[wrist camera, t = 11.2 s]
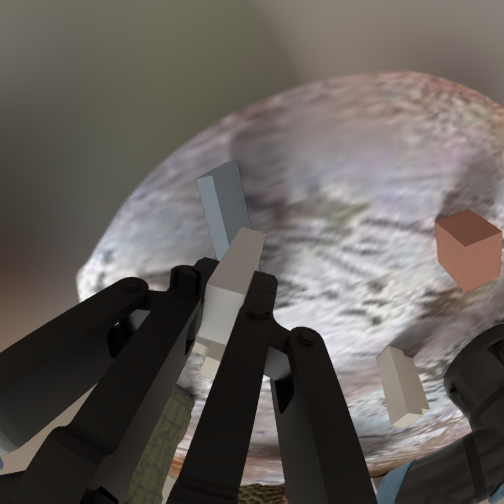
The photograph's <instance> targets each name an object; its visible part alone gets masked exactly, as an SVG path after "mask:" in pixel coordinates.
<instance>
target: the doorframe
mask: <svg viewBox="0 0 504 504" xmlns="http://www.w3.org/2000/svg"><path fill="white" fill-rule="evenodd" d="M225 348H226V345H225V344H221V343H218V342H215V341H212V340H208V339H205V338H202V337H199V331H198V333H197V335H196V339H195V345H194V347H193V349H192V351H194V352H196V353H198V354H201V355H203V356H205V357H204V359H203V362H202V365H201V367H200V370H199V373H198V374H199V375H201V376H204V377H206V378H209V379H211V380H214V378H215V376H216V373H217V370H218V367H219V365H220V362H221V359H222V356H223V353H224V351H225ZM376 361H377V364H378V368H379V372H380V377H381V381H382V385H383V389H384V394H385V398H386V403H387V408H388V412H389V417H390V423H391V426H399V427H408V426H409V425H411V424H412V423H413V422H415V421H416V420H417V419H419V418H420V417H421V416H423V415H424V414H425V413H426V412H427V411H429V410H430V408H429V405H428V402H427V399H426V396H425V393H424V390H423V387H422V384H421V381H420V378H419V375H418V372H417V369H416V367H415V364H414V361H413V359H412V358H410V357H407V356H404V354H403V351H402V350H400V349H397V348H394V347H392V346H389V345H388V346H387V347H386V349H385V350H384V351H383V352H382V353H381V354H380V355H379V356H378V357H377V358H376Z"/></svg>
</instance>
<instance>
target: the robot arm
mask: <svg viewBox="0 0 504 504" xmlns="http://www.w3.org/2000/svg"><path fill="white" fill-rule="evenodd" d="M265 237H266V233H263V232H259V231H255V230H252V229H248V228H244V227H241V229H240V230H239V232H238V233H237V235H236V237H235V238H234V240H233V241H232V243H231V245H230V246H229V248H228V249H227V251H226V253H225V254H224V256H223V258H222V259H221V261H218V260H214V259H211V258H207V257H204V258H202V259H200V260H198V261H197V262H196V264H195V265H194V266H189V265H179V266H175V267H174V268H172V269H171V277H170V287H169V289H168V290H167V291H153V290H149V286H148V284H147V282H145V281H144V280H143V279H140V278H136V277H127V278H124V279H121V280H119V281H117V282H116V283H114V284H112V285H110V286H109V287H107V288H105V289H103V290H102V291H100V292H98V293H96V294H95V295H93V296H91V297H89V298H88V299H86V300H84V301H83V302H81V303H79V304H78V305H76V306H74V307H73V308H71V309H69V310H67V311H66V312H64V313H63V314H61V315H59V316H58V317H56V318H54V319H53V320H51V321H49V322H48V323H46V324H45V325H43V326H41V327H40V328H38V329H36V330H35V331H33V332H32V333H30V334H29V335H27V336H25V337H24V338H22V339H21V340H19V341H18V342H16V343H14V344H13V345H11V346H10V347H8V348H7V349H5V350H4V351H3V352H1V353H0V456H2V455H5V454H8V453H10V452H12V451H14V450H16V449H18V448H19V447H21V446H22V445H24V444H25V443H26V442H28V441H29V440H30V439H31V438H32V437H33V436H35V435H36V434H37V433H38V432H40V431H41V430H42V429H43V428H44V427H46V426H47V425H48V424H49V423H50V422H51V421H52V420H54V419H55V418H56V417H57V416H59V415H60V414H61V413H62V412H63V411H65V410H66V409H67V408H68V407H69V406H71V405H72V404H73V403H74V402H75V401H76V400H78V399H79V398H80V397H81V396H82V395H84V393H86V392H87V391H88V390H90V389H91V388H92V387H93V386H94V385H95V384H97V385H96V386H95V388H94V389H93V390H92V392H91V393H90V395H89V396H88V398H87V399H86V401H85V402H84V403H83V405H82V406H81V408H80V409H79V411H78V412H77V414H76V415H75V417H74V418H73V420H72V421H71V422H70V423H69V424H68V425H67V426H62V427H61V426H59V427H57V428H55V429H53V430H52V431H51V432H50V434H49V435H48V436H47V438H46V439H45V441H44V442H43V444H42V445H41V447H40V448H39V450H38V451H37V453H36V455H35V456H34V458H33V459H32V461H31V462H30V464H29V466H28V467H27V469H26V470H24V471H19V472H14V473H9V474H4V475H0V504H124V502H125V500H126V498H127V495H128V493H129V489H130V482H131V478H132V476H133V473H134V471H135V469H136V467H137V465H138V463H139V460H140V458H141V456H142V454H143V452H144V450H145V448H146V445H147V443H148V441H149V439H150V437H151V435H152V433H153V431H154V428H155V426H156V424H157V422H158V420H159V418H160V416H161V414H162V412H163V409H164V407H165V405H166V403H167V401H168V399H169V397H170V395H171V393H172V391H173V388H174V386H175V384H176V382H177V380H178V378H179V376H180V374H181V372H182V370H183V368H184V366H185V363H186V361H187V359H188V357H189V355H190V353H191V351H192V349H193V347H194V345H195V339H196V335H197V333H198V331H199V337H202V338H205V339H208V340H212V341H215V342H218V343H221V344H225V345H226V348H225V351H224V353H223V356H222V359H221V362H220V365H219V367H218V370H217V373H216V376H215V378H214V381H213V384H212V387H211V389H210V392H209V395H208V398H207V400H206V403H205V406H204V409H203V411H202V414H201V417H200V420H199V422H198V425H197V428H196V430H195V433H194V436H193V439H192V441H191V444H190V447H189V449H188V452H187V455H186V457H185V460H184V463H183V466H182V468H181V471H180V474H179V476H178V478H177V480H176V482H175V484H174V485H173V488H172V490H171V492H170V495H169V497H168V499H167V502H166V504H239V501H238V492H239V488H240V483H241V479H242V475H243V471H244V466H245V462H246V457H247V453H248V448H249V444H250V439H251V434H252V430H253V425H254V420H255V415H256V410H257V405H258V400H259V395H260V390H261V385H262V380H263V375H266V376H268V377H269V378H270V385H271V392H272V399H273V406H274V412H275V419H276V426H277V433H278V439H279V446H280V453H281V459H282V466H283V473H284V480H285V486H286V493H287V500H288V504H478V503H480V502H482V501H484V500H485V499H487V498H489V499H488V502H490V504H494V503H496V502H497V501H499V500H500V499H502V498H503V497H504V324H501V325H498V326H495V327H493V328H491V329H489V330H488V331H486V332H484V333H483V334H481V335H480V336H479V337H477V338H476V339H475V340H474V341H472V342H471V343H470V344H469V345H468V346H467V347H466V348H465V349H464V350H463V351H462V352H461V353H460V354H459V355H458V356H457V357H456V359H455V360H454V361H453V363H452V364H451V365H450V367H449V369H448V370H447V372H446V375H445V378H444V387H445V390H446V393H447V395H448V397H449V399H450V400H451V401H452V402H453V403H454V404H455V405H456V406H457V407H458V408H459V410H460V411H461V412H462V413H463V414H464V415H465V416H466V417H467V418H468V420H469V423H470V426H471V429H472V432H471V433H469V434H467V435H466V436H464V437H463V438H460V439H458V440H456V441H455V442H453V443H451V444H449V445H447V446H445V447H443V448H441V449H439V450H437V451H435V452H433V453H431V454H429V455H427V456H425V457H422V458H420V459H418V460H415V459H414V460H412V461H410V462H409V463H408V464H405V465H403V466H401V467H399V468H396V469H394V470H392V471H390V472H389V473H388V474H387V475H386V476H385V477H384V478H383V480H382V481H381V484H380V486H379V488H378V491H377V495H375V492H374V488H373V485H372V481H371V478H370V475H369V472H368V468H367V465H366V462H365V459H364V456H363V452H362V449H361V446H360V443H359V440H358V437H357V434H356V431H355V428H354V425H353V422H352V419H351V416H350V413H349V410H348V407H347V404H346V401H345V398H344V396H343V393H342V390H341V387H340V384H339V381H338V379H337V376H336V373H335V370H334V368H333V365H332V362H331V359H330V357H329V354H328V351H327V348H326V346H325V343H324V340H323V338H322V337H321V335H320V334H319V333H317V332H316V331H315V330H313V329H311V328H307V327H296V328H293V329H292V330H291V331H289V330H287V329H286V328H284V327H282V326H280V325H279V324H278V323H277V322H276V321H275V319H274V317H273V308H274V303H275V297H276V291H277V285H278V281H277V279H276V277H275V276H274V275H270V274H266V273H263V272H259V271H257V267H258V264H259V260H260V256H261V252H262V248H263V245H264V241H265ZM118 322H119V323H118ZM117 323H118V324H117ZM116 324H117V325H116ZM114 325H115V326H114ZM2 468H3V460H2V459H1V457H0V470H1V469H2Z"/></svg>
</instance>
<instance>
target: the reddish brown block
mask: <svg viewBox="0 0 504 504" xmlns="http://www.w3.org/2000/svg"><path fill="white" fill-rule="evenodd" d="M434 224H435V232H436V242H437V254H438V262H439V263H440V264H441V265H442V266H443V268H444V269H445V270H446V271H447V272H448V273H449V274H450V276H451V277H452V278H453V279H454V280H455V282H456V283H457V284H458V285H459V287H460V288H461V289H462V290H463V291H464V293H465V292H467V291H469V290H472V289H474V288H476V287H478V286H480V285H483V284H485V283H487V282H489V281H491V280H493V279H495V278H497V277H499V276H500V269H501V256H502V231H501V230H499V229H498V228H497V227H495V226H494V225H492V224H491V223H489V222H488V221H486V220H485V219H483V218H481V217H480V216H478V215H477V214H475V213H474V212H472V211H470V210H469V209H468V210H465V211H462V212H459V213H457V214H454V215H451V216H448V217H445V218H442V219H439V220H436V221H434Z"/></svg>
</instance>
